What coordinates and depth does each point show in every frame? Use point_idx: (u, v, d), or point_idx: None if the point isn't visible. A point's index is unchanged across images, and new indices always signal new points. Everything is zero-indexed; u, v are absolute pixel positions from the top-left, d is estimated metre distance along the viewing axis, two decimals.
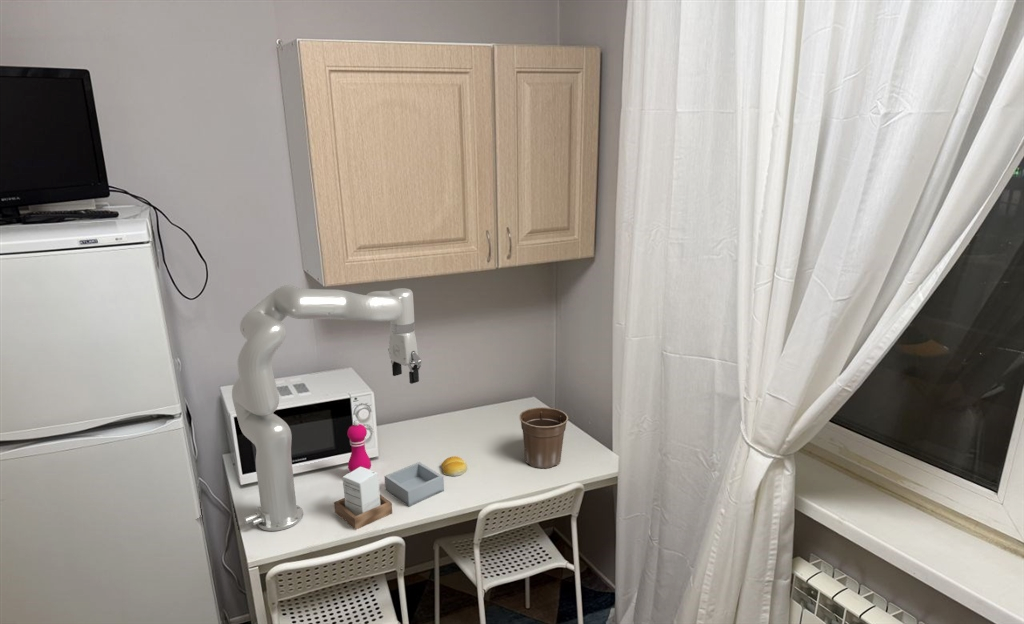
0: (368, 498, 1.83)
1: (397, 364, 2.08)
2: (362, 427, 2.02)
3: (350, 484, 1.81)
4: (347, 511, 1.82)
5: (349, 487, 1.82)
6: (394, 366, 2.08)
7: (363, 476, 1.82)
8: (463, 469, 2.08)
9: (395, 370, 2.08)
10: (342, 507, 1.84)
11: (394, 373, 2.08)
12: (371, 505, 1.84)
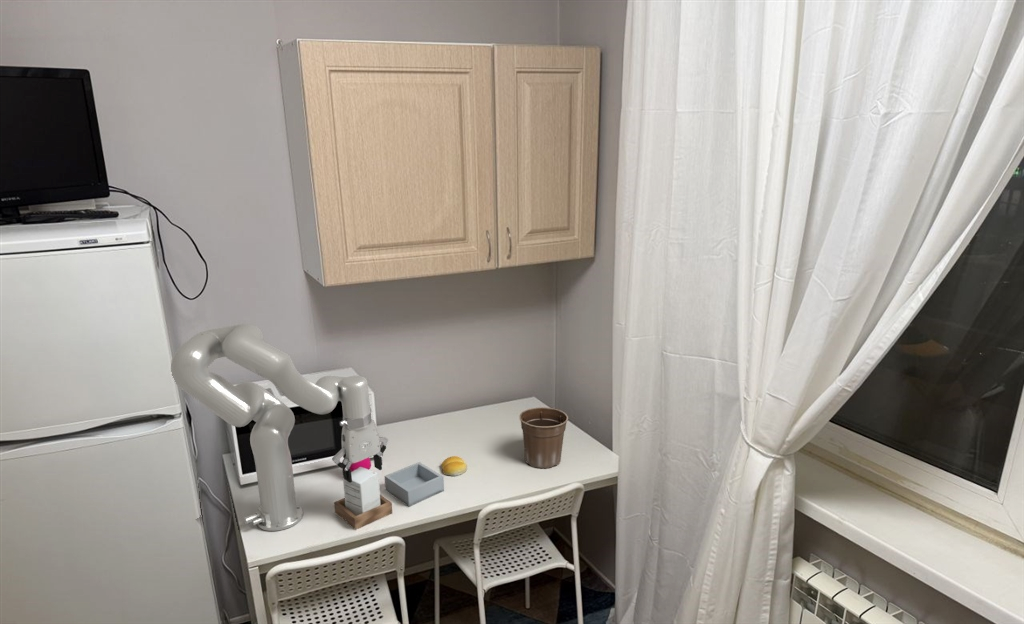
0: (368, 498, 1.83)
1: None
2: None
3: (350, 485, 1.81)
4: (347, 511, 1.82)
5: (350, 487, 1.82)
6: None
7: (363, 476, 1.82)
8: (463, 469, 2.08)
9: None
10: (342, 507, 1.84)
11: (351, 479, 1.80)
12: (371, 506, 1.84)
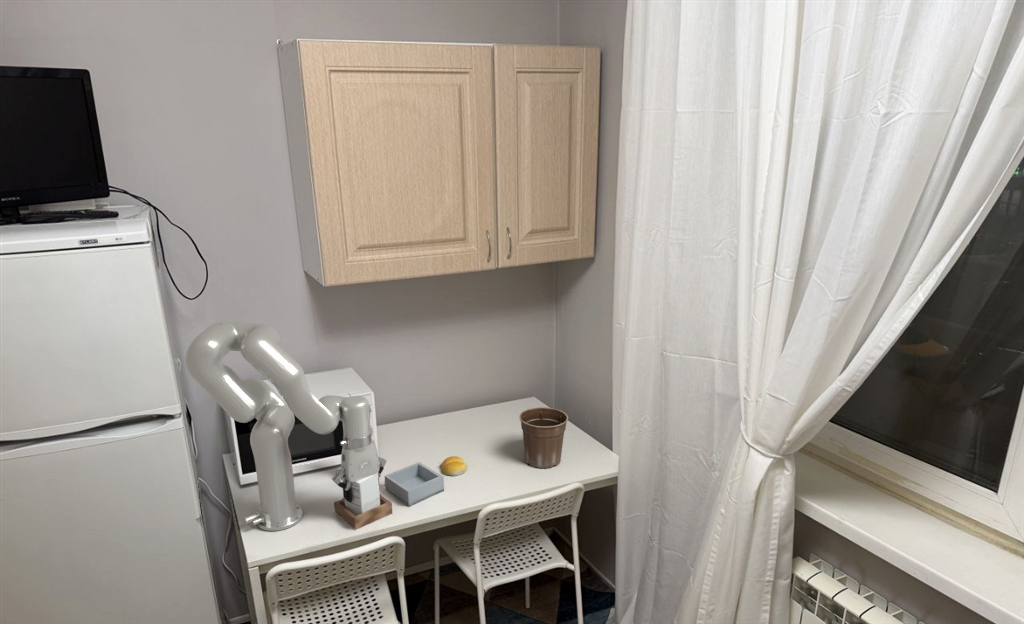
0: (368, 498, 1.83)
1: None
2: None
3: None
4: (347, 511, 1.82)
5: None
6: None
7: None
8: (463, 469, 2.08)
9: None
10: (342, 507, 1.84)
11: None
12: (370, 505, 1.84)
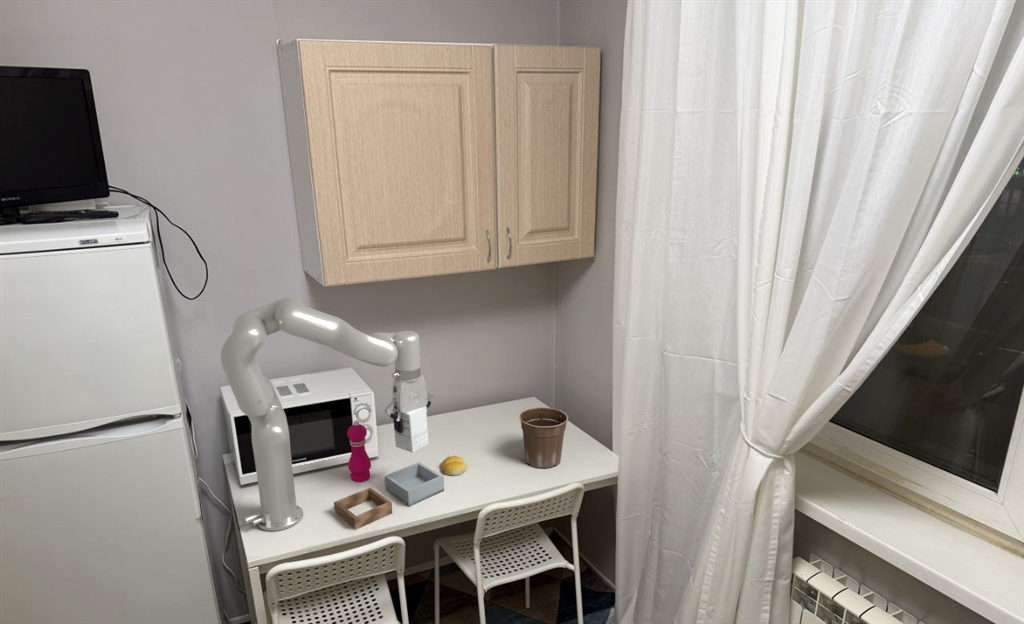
0: (417, 429, 1.91)
1: None
2: (362, 427, 2.02)
3: None
4: (347, 511, 1.82)
5: None
6: None
7: None
8: (463, 469, 2.09)
9: None
10: (342, 507, 1.84)
11: None
12: (419, 437, 1.92)
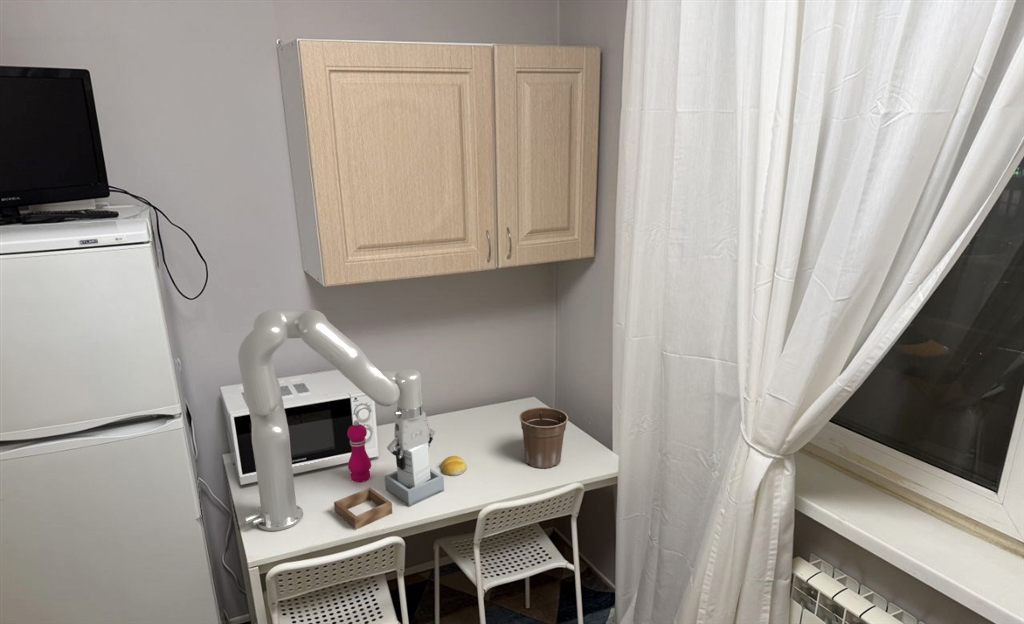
0: (419, 466, 1.94)
1: None
2: (362, 427, 2.02)
3: None
4: (347, 511, 1.82)
5: None
6: None
7: None
8: (463, 468, 2.09)
9: None
10: (342, 507, 1.84)
11: None
12: (421, 473, 1.95)
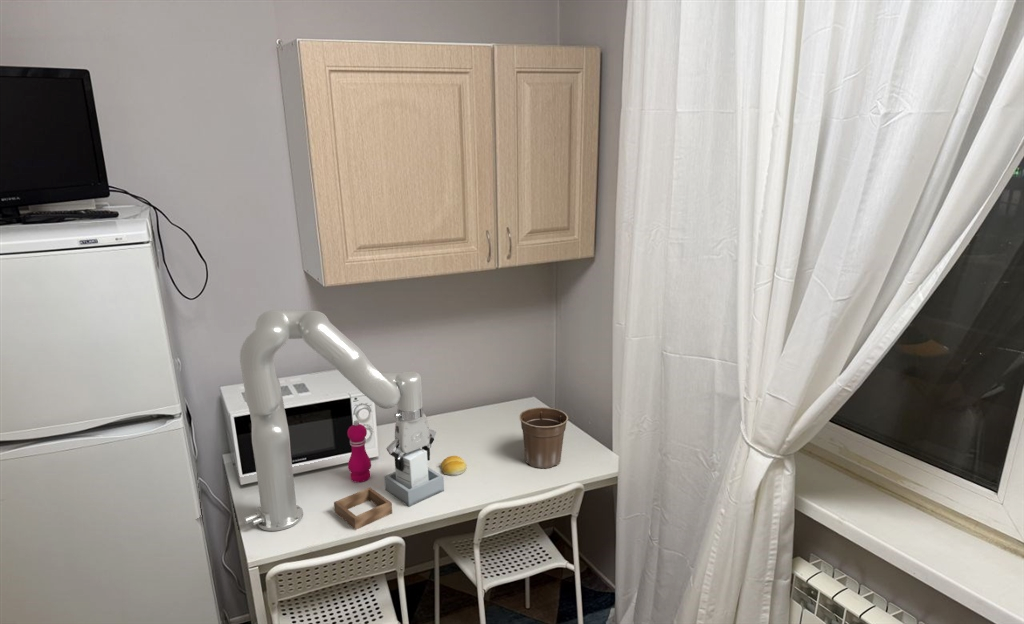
0: (417, 474, 1.94)
1: None
2: (362, 427, 2.02)
3: None
4: (347, 511, 1.82)
5: None
6: None
7: (413, 454, 1.94)
8: (463, 468, 2.09)
9: None
10: (342, 507, 1.84)
11: None
12: (419, 481, 1.95)
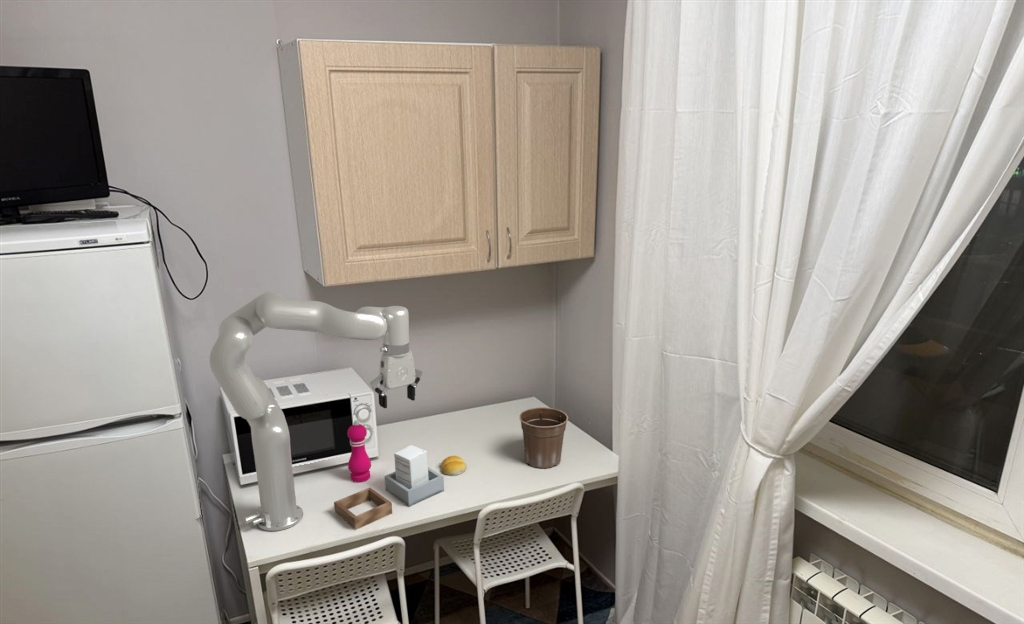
0: (417, 474, 1.94)
1: None
2: (362, 427, 2.02)
3: (400, 461, 1.93)
4: (347, 511, 1.82)
5: (400, 463, 1.94)
6: None
7: (413, 454, 1.94)
8: (462, 468, 2.09)
9: None
10: (342, 507, 1.84)
11: None
12: (419, 481, 1.95)
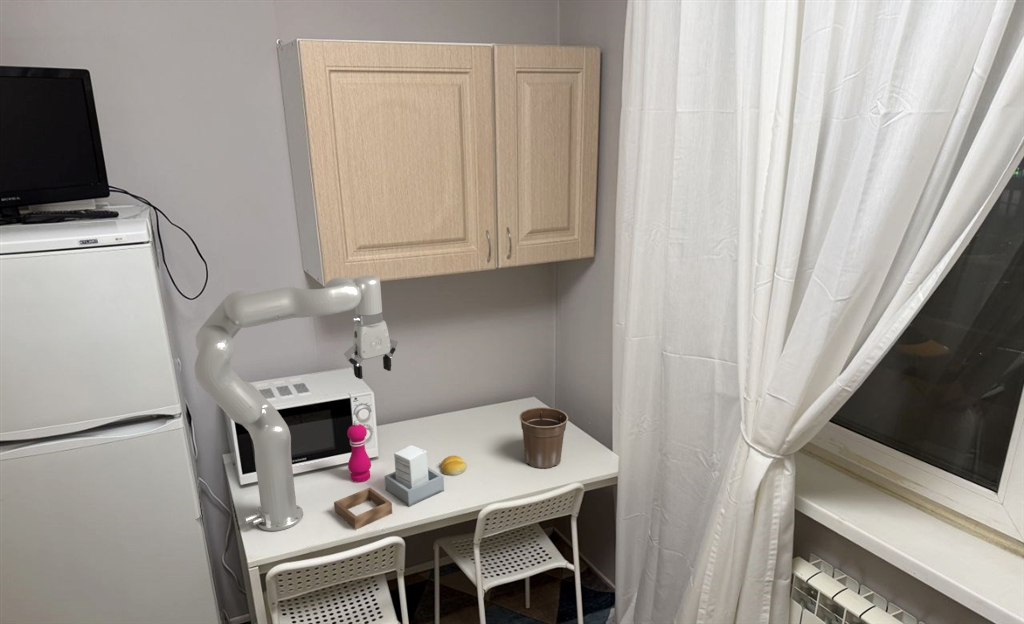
0: (417, 474, 1.94)
1: None
2: (362, 427, 2.02)
3: (400, 461, 1.93)
4: (347, 511, 1.82)
5: (400, 463, 1.94)
6: None
7: (413, 454, 1.94)
8: (462, 468, 2.09)
9: None
10: (342, 507, 1.84)
11: None
12: (419, 481, 1.95)
